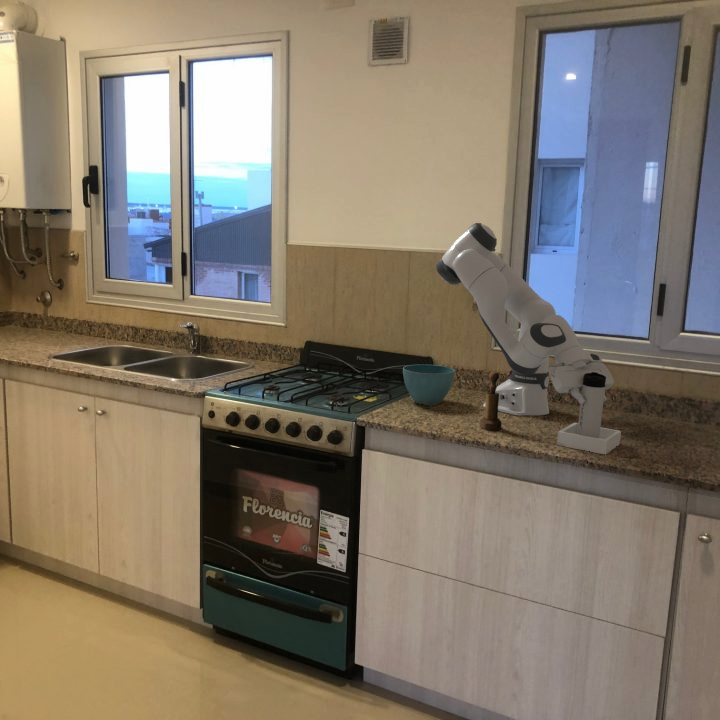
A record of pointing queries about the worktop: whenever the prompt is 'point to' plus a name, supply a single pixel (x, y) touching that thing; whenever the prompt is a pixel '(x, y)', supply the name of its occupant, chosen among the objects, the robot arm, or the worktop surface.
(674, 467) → the worktop surface
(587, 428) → the travel mug
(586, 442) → the tray
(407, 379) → the teal bowl
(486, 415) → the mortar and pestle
